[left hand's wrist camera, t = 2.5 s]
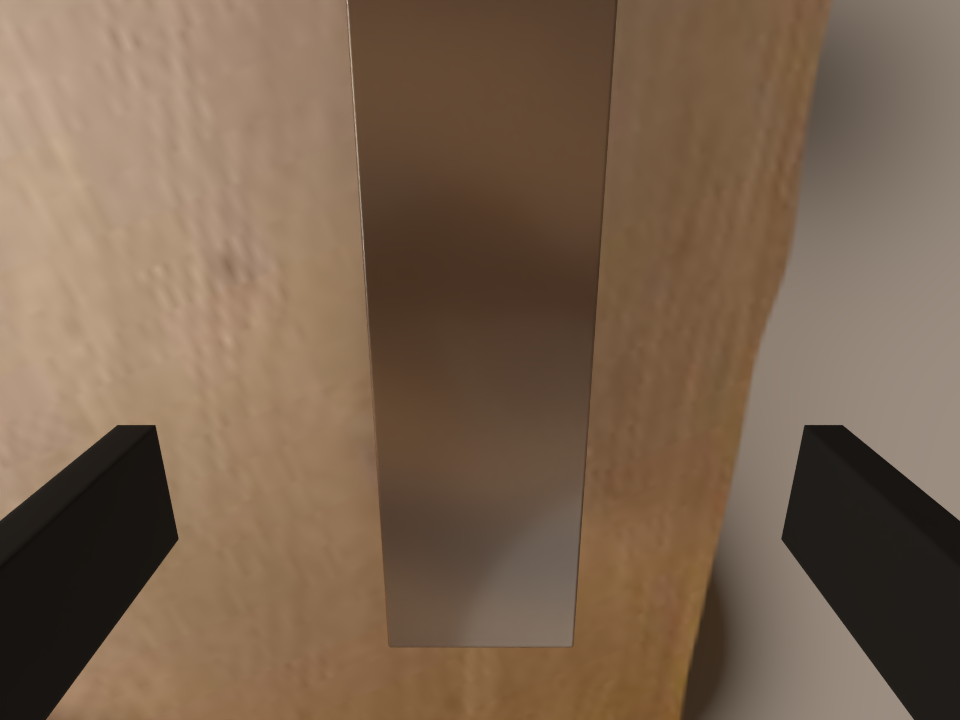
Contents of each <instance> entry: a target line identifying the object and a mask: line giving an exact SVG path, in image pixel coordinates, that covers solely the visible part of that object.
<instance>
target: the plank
mask: <svg viewBox="0 0 960 720" xmlns="http://www.w3.org/2000/svg"><path fill="white" fill-rule="evenodd" d="M617 1H618V0H346V9H347V24H348V39H349V54H350V69H351V84H352V100H353V115H354V130H355V145H356V160H357V175H358V190H359V206H360V221H361V236H362V251H363V266H364V281H365V297H366V312H367V327H368V342H369V357H370V372H371V387H372V403H373V418H374V433H375V448H376V463H377V478H378V494H379V509H380V524H381V539H382V554H383V569H384V584H385V600H386V615H387V630H388V644H389V647H573V643H574V628H575V613H576V599H577V584H578V570H579V555H580V541H581V526H582V511H583V497H584V482H585V468H586V453H587V438H588V424H589V409H590V395H591V380H592V365H593V351H594V336H595V322H596V307H597V293H598V278H599V263H600V249H601V234H602V220H603V205H604V190H605V176H606V161H607V147H608V132H609V117H610V103H611V88H612V74H613V59H614V45H615V30H616V15H617Z"/></svg>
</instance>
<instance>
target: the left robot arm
mask: <svg viewBox="0 0 960 720" xmlns="http://www.w3.org/2000/svg"><path fill="white" fill-rule="evenodd" d="M177 541H178V534H177V529H176V524H175V519H174V514H173V509H172V504H171V499H170V494H169V490H168V485H167V480H166V475H165V470H164V465H163V460H162V455H161V450H160V445H159V440H158V436H157V431H156V426H155V425H117V426H116V427H115V428H113V429H112V430H111V431H110V432H109V433H107V434H106V435H105V436H104V437H102V438H101V439H100V440H99V441H98V442H96V443H95V444H94V445H93V446H91V447H90V448H89V449H88V450H87V451H85V452H84V453H83V454H82V455H80V456H79V457H78V458H77V459H76V460H74V461H73V462H72V463H71V464H69V465H68V466H67V467H66V468H64V469H63V470H62V471H61V472H60V473H58V474H57V475H56V476H55V477H53V478H52V479H51V480H50V481H49V482H47V483H46V484H45V485H44V486H42V487H41V488H40V489H39V490H38V491H36V492H35V493H34V494H33V495H31V496H30V497H29V498H28V499H27V500H25V501H24V502H23V503H22V504H20V505H19V506H18V507H17V508H15V509H14V510H13V511H12V512H11V513H9V514H8V515H7V516H6V517H4V518H3V519H2V520H1V521H0V720H46V719H47V718H48V716H49V715H50V713H51V712H52V711H53V709H54V708H55V707H56V705H57V704H58V703H59V701H60V700H61V698H62V697H63V696H64V694H65V693H66V692H67V690H68V689H69V688H70V686H71V685H72V683H73V682H74V681H75V679H76V678H77V677H78V675H79V674H80V673H81V671H82V670H83V669H84V667H85V666H86V664H87V663H88V662H89V660H90V659H91V658H92V656H93V655H94V654H95V652H96V651H97V649H98V648H99V647H100V645H101V644H102V643H103V641H104V640H105V639H106V637H107V636H108V635H109V633H110V632H111V630H112V629H113V628H114V626H115V625H116V624H117V622H118V621H119V620H120V618H121V617H122V615H123V614H124V613H125V611H126V610H127V609H128V607H129V606H130V605H131V603H132V602H133V601H134V599H135V598H136V596H137V595H138V594H139V592H140V591H141V590H142V588H143V587H144V586H145V584H146V583H147V581H148V580H149V579H150V577H151V576H152V575H153V573H154V572H155V571H156V569H157V568H158V567H159V565H160V564H161V562H162V561H163V560H164V558H165V557H166V556H167V554H168V553H169V552H170V550H171V549H172V547H173V546H174V545H175V543H176V542H177ZM782 541H783V542H784V543H785V545H786V546H787V547H788V549H789V550H790V552H791V553H792V554H793V556H794V557H795V558H796V560H797V561H798V562H799V564H800V565H801V567H802V568H803V569H804V571H805V572H806V573H807V575H808V576H809V577H810V579H811V580H812V581H813V583H814V584H815V586H816V587H817V588H818V590H819V591H820V592H821V594H822V595H823V596H824V598H825V599H826V600H827V602H828V603H829V605H830V606H831V607H832V609H833V610H834V611H835V613H836V614H837V615H838V617H839V618H840V620H841V621H842V622H843V624H844V625H845V626H846V628H847V629H848V630H849V632H850V633H851V635H852V636H853V637H854V639H855V640H856V641H857V643H858V644H859V645H860V647H861V648H862V649H863V651H864V652H865V654H866V655H867V656H868V658H869V659H870V660H871V662H872V663H873V664H874V666H875V667H876V669H877V670H878V671H879V673H880V674H881V675H882V677H883V678H884V679H885V681H886V682H887V683H888V685H889V686H890V688H891V689H892V690H893V692H894V693H895V694H896V696H897V697H898V698H899V700H900V701H901V703H902V704H903V705H904V707H905V708H906V709H907V711H908V712H909V713H910V715H911V716H912V717H913V719H914V720H960V521H959V520H958V519H957V518H956V517H954V516H953V515H952V514H951V513H949V512H948V511H947V510H946V509H944V508H943V507H942V506H941V505H940V504H938V503H937V502H936V501H935V500H933V499H932V498H931V497H930V496H929V495H927V494H926V493H925V492H924V491H922V490H921V489H920V488H919V487H918V486H916V485H915V484H914V483H913V482H911V481H910V480H909V479H908V478H907V477H905V476H904V475H903V474H902V473H900V472H899V471H898V470H897V469H896V468H894V467H893V466H892V465H891V464H889V463H888V462H887V461H886V460H884V459H883V458H882V457H881V456H880V455H878V454H877V453H876V452H875V451H873V450H872V449H871V448H870V447H869V446H867V445H866V444H865V443H864V442H862V441H861V440H860V439H859V438H858V437H856V436H855V435H854V434H853V433H851V432H850V431H849V430H848V429H847V428H845V427H844V426H843V425H805V426H804V431H803V435H802V440H801V446H800V450H799V455H798V460H797V465H796V470H795V475H794V480H793V485H792V490H791V494H790V499H789V504H788V509H787V514H786V519H785V524H784V529H783V534H782Z"/></svg>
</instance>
